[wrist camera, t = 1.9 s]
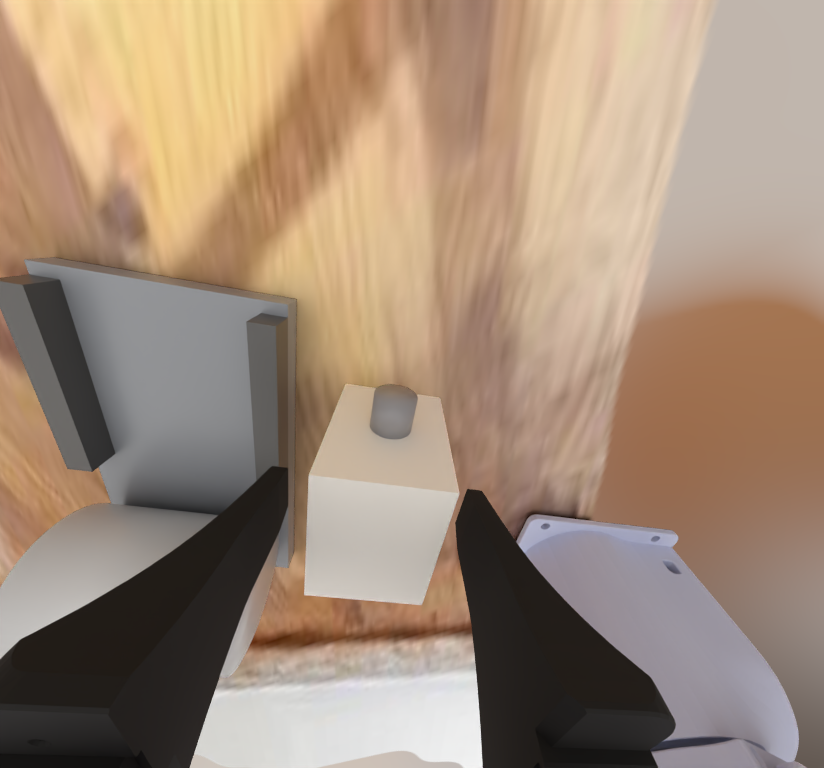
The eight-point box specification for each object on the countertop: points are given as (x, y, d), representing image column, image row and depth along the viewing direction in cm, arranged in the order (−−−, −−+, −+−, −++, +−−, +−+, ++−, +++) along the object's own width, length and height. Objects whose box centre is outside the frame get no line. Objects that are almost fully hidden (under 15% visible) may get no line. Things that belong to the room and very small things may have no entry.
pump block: (446, 370, 14) (471, 457, 9) (417, 488, 17) (421, 604, 12) (348, 354, 14) (310, 435, 8) (336, 479, 17) (304, 594, 12)
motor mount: (296, 299, 12) (183, 369, 6) (293, 552, 19) (240, 705, 13) (53, 257, 12) (-362, 289, 5) (142, 537, 19) (8, 692, 12)
